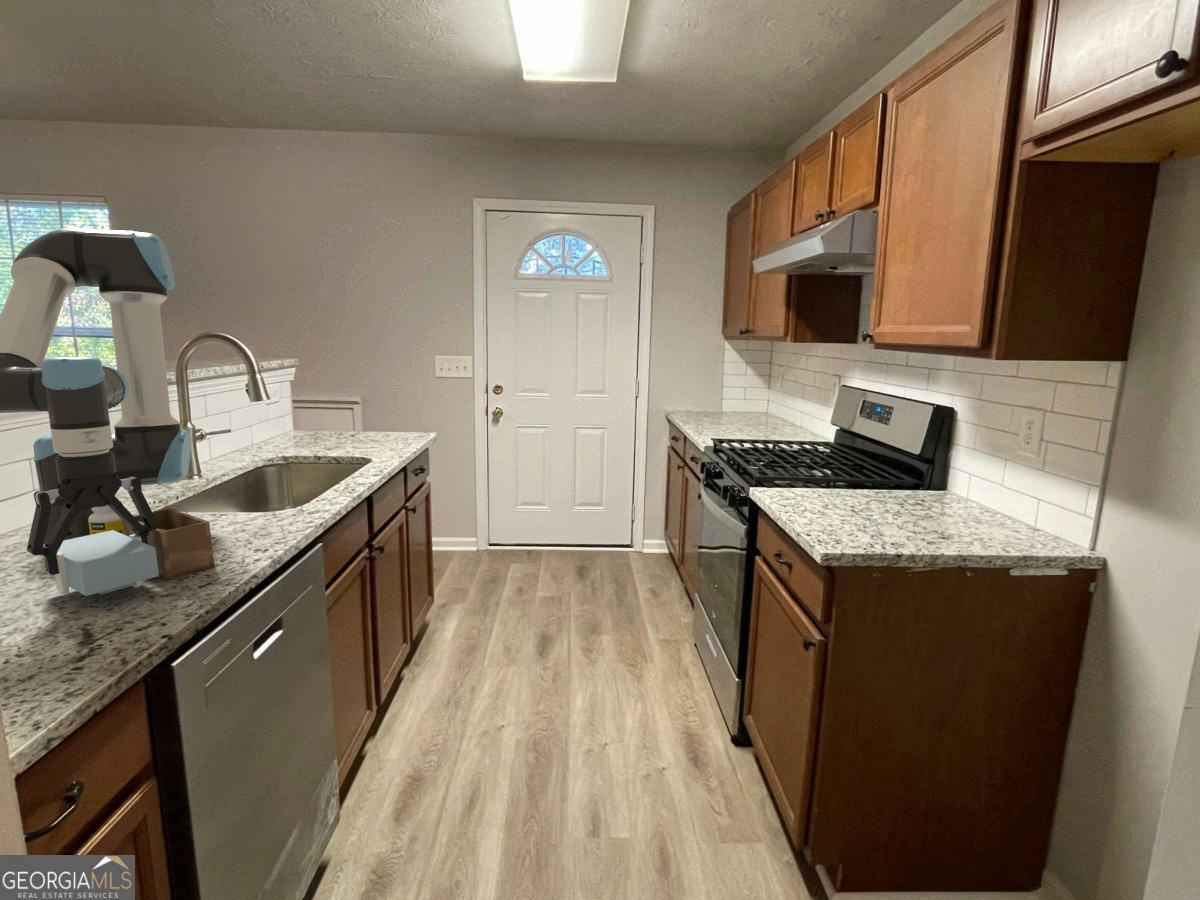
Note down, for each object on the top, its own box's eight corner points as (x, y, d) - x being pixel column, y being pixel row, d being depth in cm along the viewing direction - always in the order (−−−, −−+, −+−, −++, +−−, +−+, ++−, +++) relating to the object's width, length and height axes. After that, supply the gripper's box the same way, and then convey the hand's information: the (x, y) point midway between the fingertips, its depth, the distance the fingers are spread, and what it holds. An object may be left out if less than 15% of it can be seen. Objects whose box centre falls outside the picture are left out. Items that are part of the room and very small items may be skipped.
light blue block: (47, 579, 105) (42, 545, 104) (117, 562, 113) (113, 530, 112) (86, 603, 96) (81, 565, 95) (159, 582, 104) (155, 547, 103)
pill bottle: (89, 562, 119) (81, 507, 117) (97, 552, 124) (89, 499, 122) (129, 557, 121) (122, 503, 119) (135, 548, 127) (128, 496, 125)
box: (128, 562, 119) (122, 517, 117) (174, 550, 126) (169, 508, 124) (167, 580, 110) (161, 532, 109) (214, 567, 117) (209, 521, 115)
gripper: (-2, 466, 89) (23, 610, 93) (172, 445, 108) (186, 565, 112) (-17, 460, 93) (7, 598, 97) (153, 441, 112) (167, 557, 116)
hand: (103, 580), depth 105 cm, fingers closed on light blue block, 10 cm apart
